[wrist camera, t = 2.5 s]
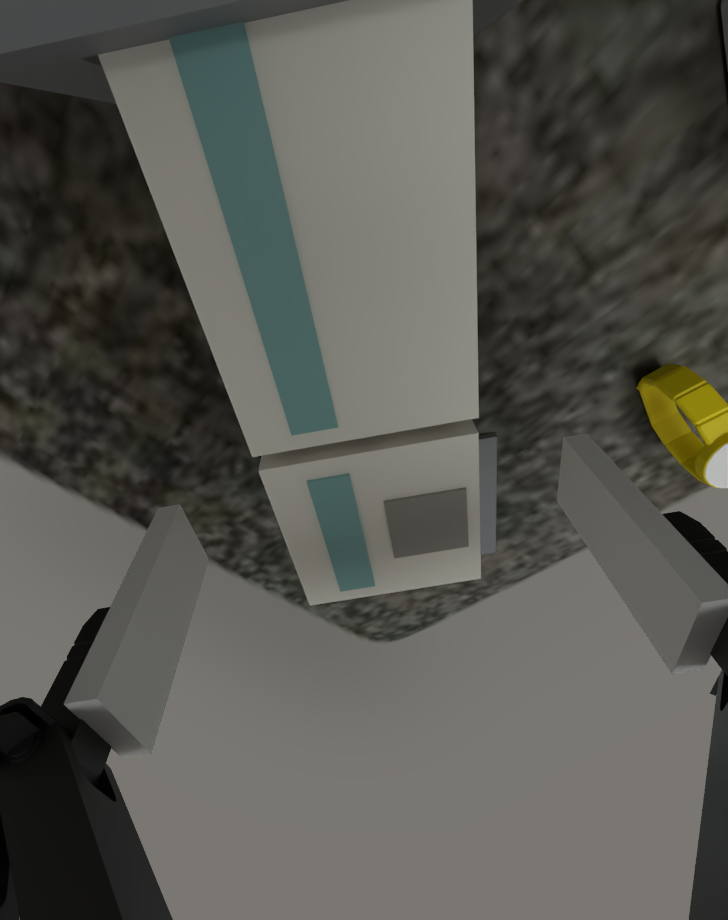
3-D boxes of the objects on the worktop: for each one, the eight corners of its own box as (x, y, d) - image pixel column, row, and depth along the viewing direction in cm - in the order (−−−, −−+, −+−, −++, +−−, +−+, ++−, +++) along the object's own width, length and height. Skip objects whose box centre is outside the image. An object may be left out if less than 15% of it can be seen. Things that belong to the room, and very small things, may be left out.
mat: (329, 460, 24) (329, 465, 24) (494, 432, 24) (497, 436, 23) (357, 569, 29) (358, 574, 29) (493, 547, 29) (495, 552, 29)
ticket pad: (107, -57, 13) (-412, -524, 4) (447, -135, 13) (756, -868, 3) (240, 338, 20) (166, 501, 11) (462, 297, 20) (577, 431, 10)
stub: (286, 339, 20) (257, 472, 12) (417, 314, 20) (479, 434, 12) (316, 447, 24) (309, 607, 15) (428, 427, 23) (481, 580, 15)
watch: (611, 370, 23) (686, 425, 17) (667, 339, 22) (762, 387, 17) (646, 453, 25) (720, 521, 20) (697, 427, 24) (787, 492, 19)
